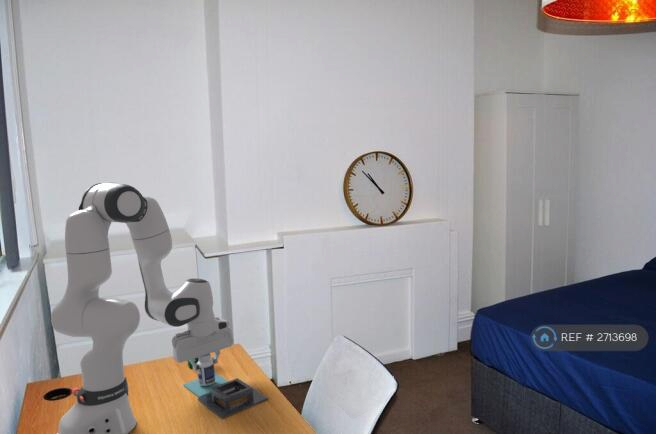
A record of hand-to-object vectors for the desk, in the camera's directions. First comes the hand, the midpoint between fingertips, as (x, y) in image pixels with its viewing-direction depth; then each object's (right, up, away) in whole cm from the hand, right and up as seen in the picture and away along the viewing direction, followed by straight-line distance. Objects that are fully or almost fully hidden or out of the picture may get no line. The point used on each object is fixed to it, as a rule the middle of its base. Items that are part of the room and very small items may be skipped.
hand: (205, 366), depth 178 cm
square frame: (+11, -8, -10) cm, 17 cm away
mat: (+1, -7, +1) cm, 7 cm away
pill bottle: (0, -6, +1) cm, 6 cm away
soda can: (-8, -5, +18) cm, 20 cm away
